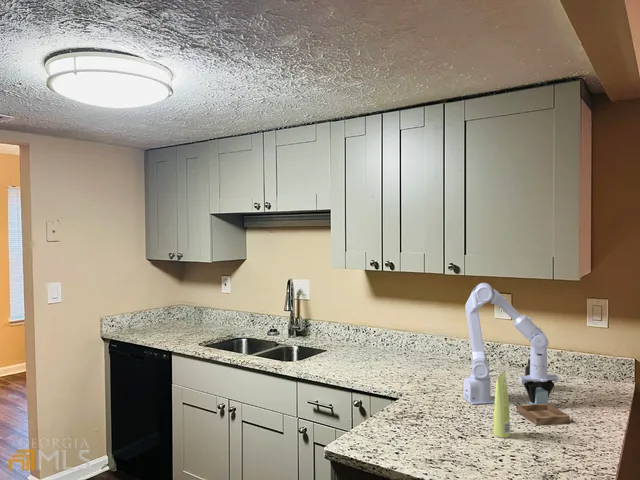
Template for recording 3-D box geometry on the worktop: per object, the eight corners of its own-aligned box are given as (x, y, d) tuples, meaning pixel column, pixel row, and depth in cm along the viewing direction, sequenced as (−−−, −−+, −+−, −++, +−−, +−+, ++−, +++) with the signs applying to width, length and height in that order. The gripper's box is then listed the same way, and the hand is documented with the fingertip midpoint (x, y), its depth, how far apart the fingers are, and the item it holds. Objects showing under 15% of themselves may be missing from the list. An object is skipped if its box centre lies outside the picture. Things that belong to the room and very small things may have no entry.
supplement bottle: (532, 393, 192) (532, 362, 192) (521, 387, 198) (521, 358, 198) (547, 391, 194) (547, 361, 193) (535, 386, 200) (535, 357, 200)
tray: (536, 425, 160) (536, 418, 160) (516, 411, 172) (516, 405, 172) (569, 422, 162) (569, 416, 162) (547, 409, 174) (547, 403, 174)
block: (536, 408, 175) (536, 392, 175) (529, 404, 180) (529, 388, 180) (547, 407, 176) (547, 391, 176) (540, 403, 180) (540, 387, 180)
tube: (489, 431, 156) (489, 370, 156) (504, 430, 156) (504, 370, 156) (497, 438, 150) (497, 376, 150) (513, 438, 151) (513, 375, 150)
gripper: (526, 368, 173) (526, 406, 173) (563, 366, 175) (563, 404, 175) (515, 363, 179) (515, 399, 180) (551, 361, 182) (551, 397, 182)
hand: (538, 401), depth 178 cm, fingers closed on block, 4 cm apart
